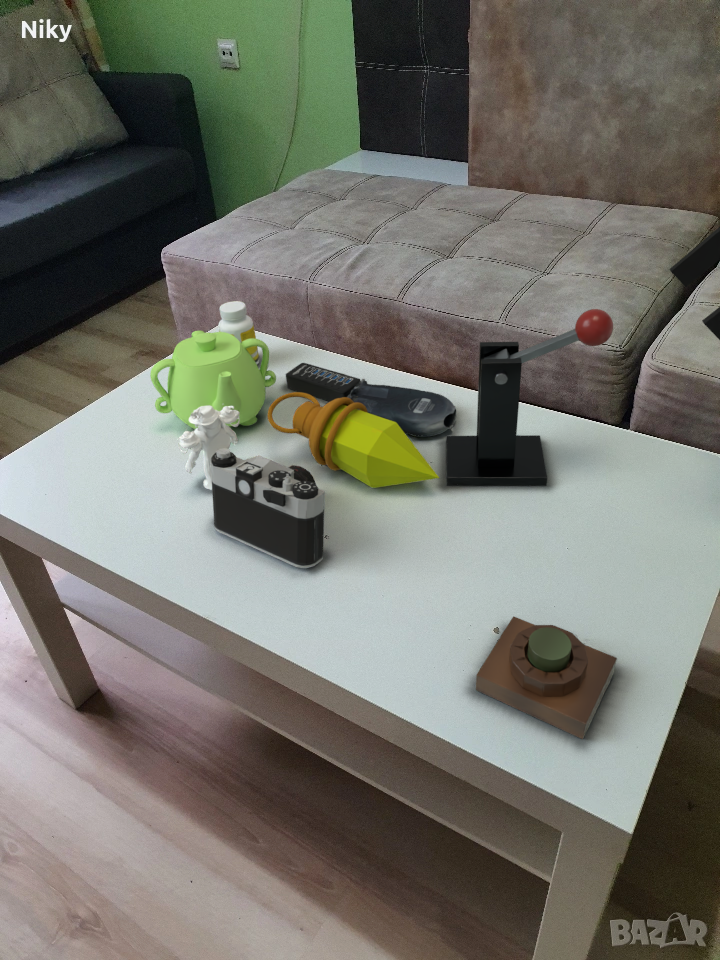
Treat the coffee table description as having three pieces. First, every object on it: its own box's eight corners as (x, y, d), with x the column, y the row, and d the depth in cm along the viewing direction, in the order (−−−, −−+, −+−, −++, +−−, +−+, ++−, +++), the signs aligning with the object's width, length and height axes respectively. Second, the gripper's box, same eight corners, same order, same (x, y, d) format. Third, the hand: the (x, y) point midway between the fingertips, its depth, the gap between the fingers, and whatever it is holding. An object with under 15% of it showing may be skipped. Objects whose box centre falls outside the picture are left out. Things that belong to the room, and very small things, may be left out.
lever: (614, 327, 84) (603, 297, 82) (621, 343, 81) (609, 313, 79) (493, 375, 90) (480, 348, 88) (495, 393, 86) (482, 365, 84)
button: (575, 650, 67) (577, 637, 66) (560, 679, 64) (562, 665, 63) (537, 634, 68) (538, 621, 67) (520, 662, 66) (522, 649, 65)
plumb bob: (457, 474, 95) (297, 404, 104) (459, 427, 87) (287, 356, 97) (421, 527, 90) (258, 449, 100) (419, 481, 83) (243, 402, 93)
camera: (358, 533, 88) (361, 456, 83) (301, 576, 80) (301, 494, 75) (262, 494, 95) (260, 422, 90) (201, 530, 87) (195, 453, 82)
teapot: (300, 404, 109) (289, 324, 102) (242, 456, 100) (226, 373, 92) (211, 382, 116) (195, 306, 108) (150, 429, 106) (128, 349, 99)
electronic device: (341, 437, 104) (444, 443, 98) (335, 400, 102) (440, 403, 96) (367, 411, 112) (465, 414, 105) (362, 375, 109) (462, 377, 103)
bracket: (539, 443, 98) (550, 332, 88) (546, 486, 91) (559, 371, 81) (446, 443, 99) (446, 334, 90) (446, 485, 92) (447, 372, 83)
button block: (613, 673, 69) (620, 644, 66) (582, 739, 64) (588, 711, 61) (511, 631, 74) (514, 602, 71) (475, 690, 68) (476, 661, 66)
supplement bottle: (259, 353, 123) (250, 297, 117) (260, 369, 118) (250, 311, 112) (226, 357, 122) (215, 301, 116) (225, 373, 118) (214, 316, 112)
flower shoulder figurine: (204, 504, 92) (184, 422, 85) (183, 493, 94) (161, 412, 87) (255, 467, 98) (240, 387, 90) (234, 458, 100) (218, 378, 92)
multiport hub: (345, 406, 108) (344, 392, 107) (286, 387, 113) (284, 374, 112) (362, 392, 111) (361, 378, 109) (304, 374, 116) (302, 361, 115)
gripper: (995, 211, 60) (752, 382, 70) (858, 138, 80) (685, 280, 90) (947, 144, 57) (703, 332, 68) (818, 86, 77) (645, 238, 88)
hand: (692, 303), depth 79 cm, fingers open, 13 cm apart
